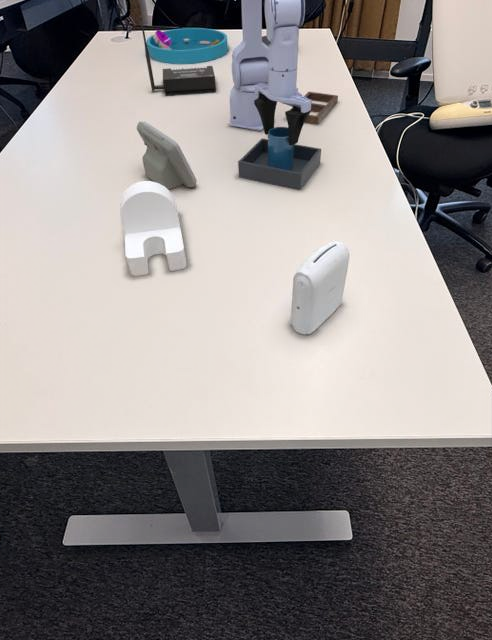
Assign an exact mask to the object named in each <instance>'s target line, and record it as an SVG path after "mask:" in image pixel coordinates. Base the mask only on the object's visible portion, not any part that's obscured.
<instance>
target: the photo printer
mask: <svg viewBox="0 0 492 640" xmlns="http://www.w3.org/2000/svg"><path fill="white" fill-rule="evenodd" d="M350 255H351V254H350V251H349V249H348V246H347V245H346V244H345V243H343V242H340V241H339V240H334V241H329V242H328V243H326V244H323V245H322V246H320V247H319V248H317V249H316V250H314V251H313V252H312V253H311V254H310V255H309V256H308V257H307V258H305V260H304V261H303V262H302V263H301V264H300V265H299V267H298V268H297V270H296V271H295V273H294V275H293V278H292V293H291V310H290V311H291V313H290V324H291V326H292V328H293V331H295V332H297V333H298V334H301V335H304V336H305V335H310V334H312V333H314V332H315V331H316V330H317V329H318V328H319V327H320V326H322V325H323V324H324V322H326V321H327V320H328V319H329V318H330V317H331V316H332V315H333V314H334V313H335V311H337V309H338V308H339V307H340V306H341V304H342V301H343V296H344V292H345V285H346V280H347V274H348V269H349V262H350Z"/></svg>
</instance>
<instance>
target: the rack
mask: <svg viewBox="0 0 492 640" xmlns="http://www.w3.org/2000/svg"><path fill="white" fill-rule="evenodd" d="M303 96H304V97H306V98H308V99H310V100H311V101H317V102H325V103H326V104H322V103H314V102H311V111H310V112H314V113H315V112H316V113H317V114H315V115H314V114H309V115H308V117H307V119H306V120H305V122H304V123H305V124H306V123H307V124H312V125H319V124H320V123H321V122H322V121H323V119H324V118H325V117H326V116H327V115H328V113H330V112H331V110H332V109H333V108H334V107H335V106H336V104H337V103H338V100H339V95H338V94H337V95H336V94H331V93H322V92H315V91H308V92H307V93H306V94H305V95H303ZM291 109H293V107H291V108H290V109H289V110H291Z"/></svg>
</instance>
